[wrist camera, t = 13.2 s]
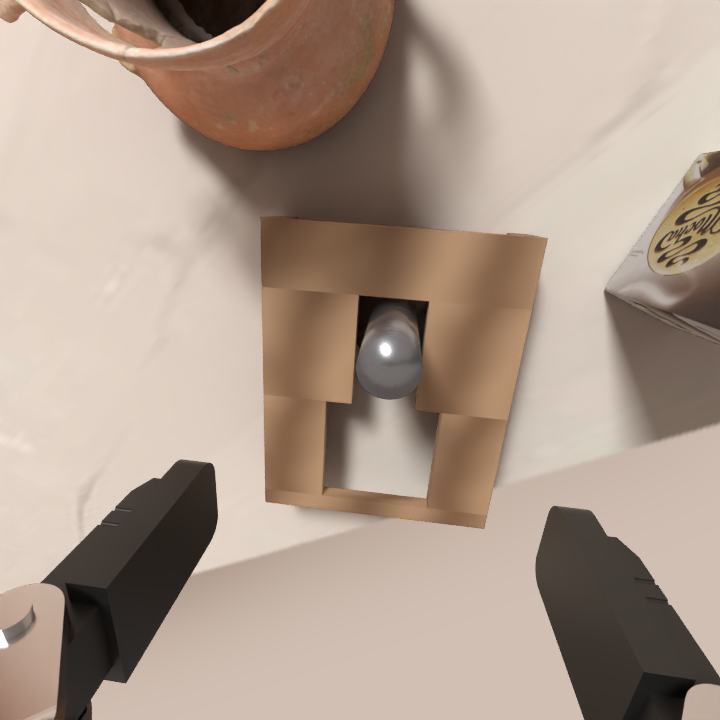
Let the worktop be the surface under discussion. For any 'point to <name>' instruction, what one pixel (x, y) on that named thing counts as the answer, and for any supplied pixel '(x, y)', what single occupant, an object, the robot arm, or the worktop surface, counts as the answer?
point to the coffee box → (680, 257)
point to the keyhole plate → (439, 353)
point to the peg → (390, 345)
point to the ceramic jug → (236, 58)
